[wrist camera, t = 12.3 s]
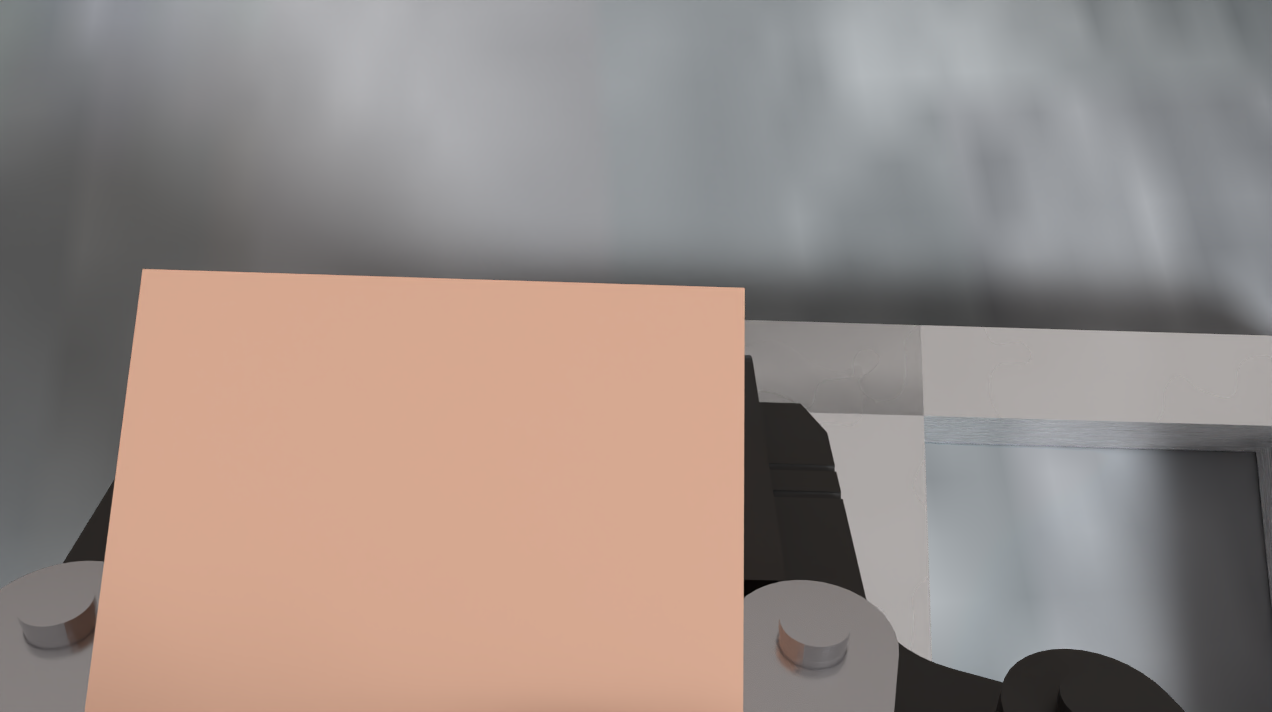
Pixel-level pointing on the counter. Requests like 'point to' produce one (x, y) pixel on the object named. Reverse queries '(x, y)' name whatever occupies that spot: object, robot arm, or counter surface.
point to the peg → (426, 498)
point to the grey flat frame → (998, 415)
